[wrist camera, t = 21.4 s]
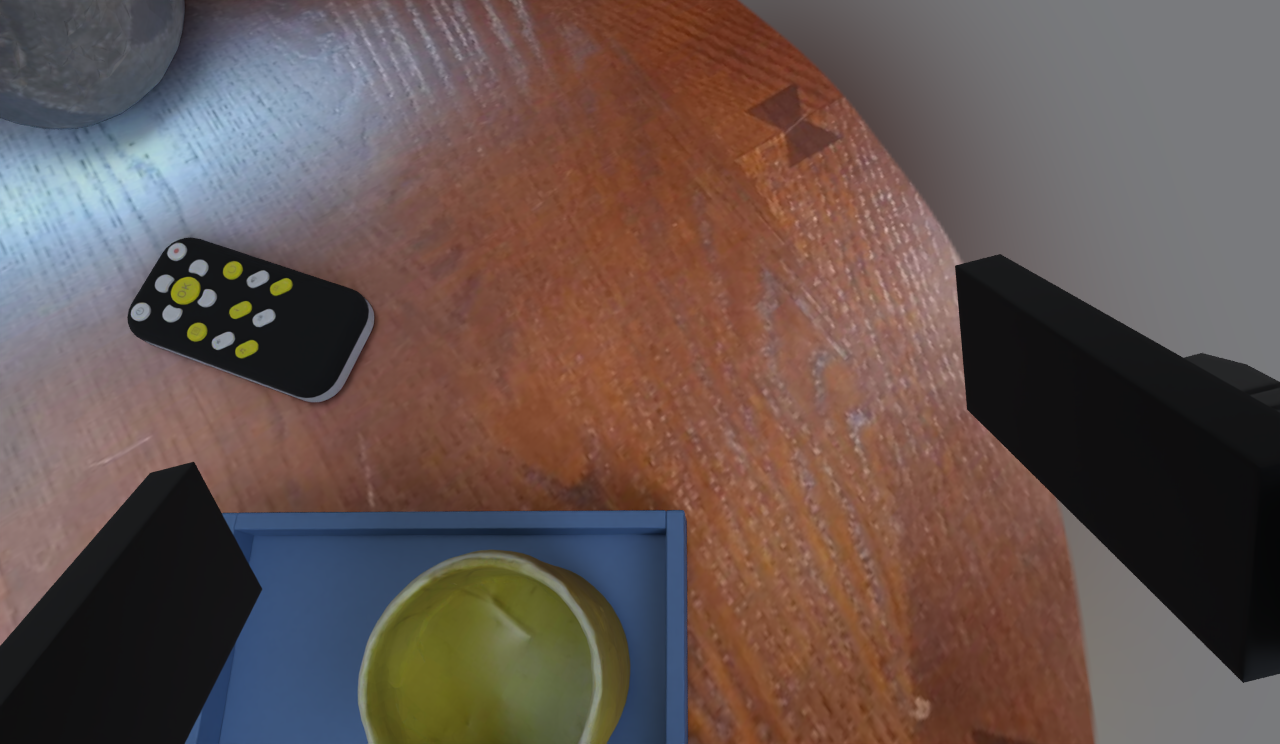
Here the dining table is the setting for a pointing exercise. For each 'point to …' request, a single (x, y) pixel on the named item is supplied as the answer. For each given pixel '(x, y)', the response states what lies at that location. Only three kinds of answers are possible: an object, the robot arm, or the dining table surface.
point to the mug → (495, 657)
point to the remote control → (252, 319)
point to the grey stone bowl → (82, 57)
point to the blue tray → (392, 558)
